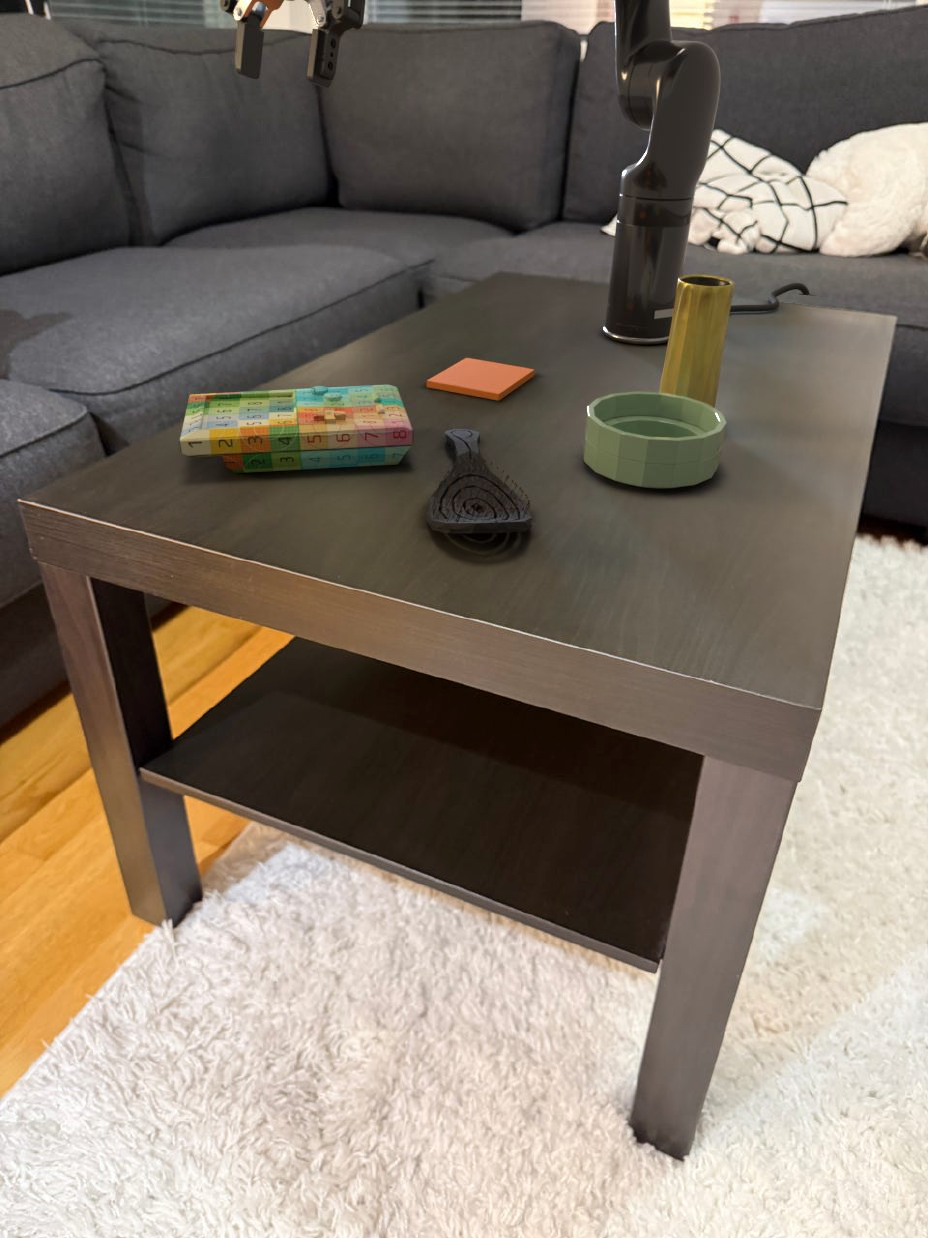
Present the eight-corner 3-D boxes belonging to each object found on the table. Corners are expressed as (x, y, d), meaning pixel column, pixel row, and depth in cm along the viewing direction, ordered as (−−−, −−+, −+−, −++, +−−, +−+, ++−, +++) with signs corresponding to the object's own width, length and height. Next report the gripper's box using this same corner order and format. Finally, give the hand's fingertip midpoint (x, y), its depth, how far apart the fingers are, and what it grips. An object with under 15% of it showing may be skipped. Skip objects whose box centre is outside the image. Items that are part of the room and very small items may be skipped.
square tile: (466, 363, 105) (466, 357, 105) (534, 375, 102) (535, 369, 102) (426, 387, 98) (426, 380, 98) (498, 401, 95) (499, 393, 94)
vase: (713, 438, 87) (741, 289, 79) (651, 432, 88) (673, 284, 80) (711, 417, 92) (737, 275, 84) (652, 412, 93) (673, 271, 85)
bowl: (607, 432, 88) (612, 383, 85) (728, 456, 83) (738, 405, 80) (563, 476, 78) (568, 423, 76) (696, 505, 74) (707, 450, 71)
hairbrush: (501, 408, 85) (544, 510, 63) (500, 444, 87) (541, 556, 65) (416, 409, 84) (431, 513, 63) (417, 446, 86) (431, 559, 64)
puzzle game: (413, 420, 76) (177, 430, 73) (413, 469, 79) (185, 482, 76) (397, 377, 86) (187, 385, 83) (398, 423, 88) (195, 432, 85)
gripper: (407, -133, 68) (373, 101, 74) (278, -130, 74) (256, 85, 80) (344, -185, 62) (312, 74, 68) (209, -176, 68) (190, 60, 74)
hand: (281, 80), depth 74 cm, fingers open, 8 cm apart
